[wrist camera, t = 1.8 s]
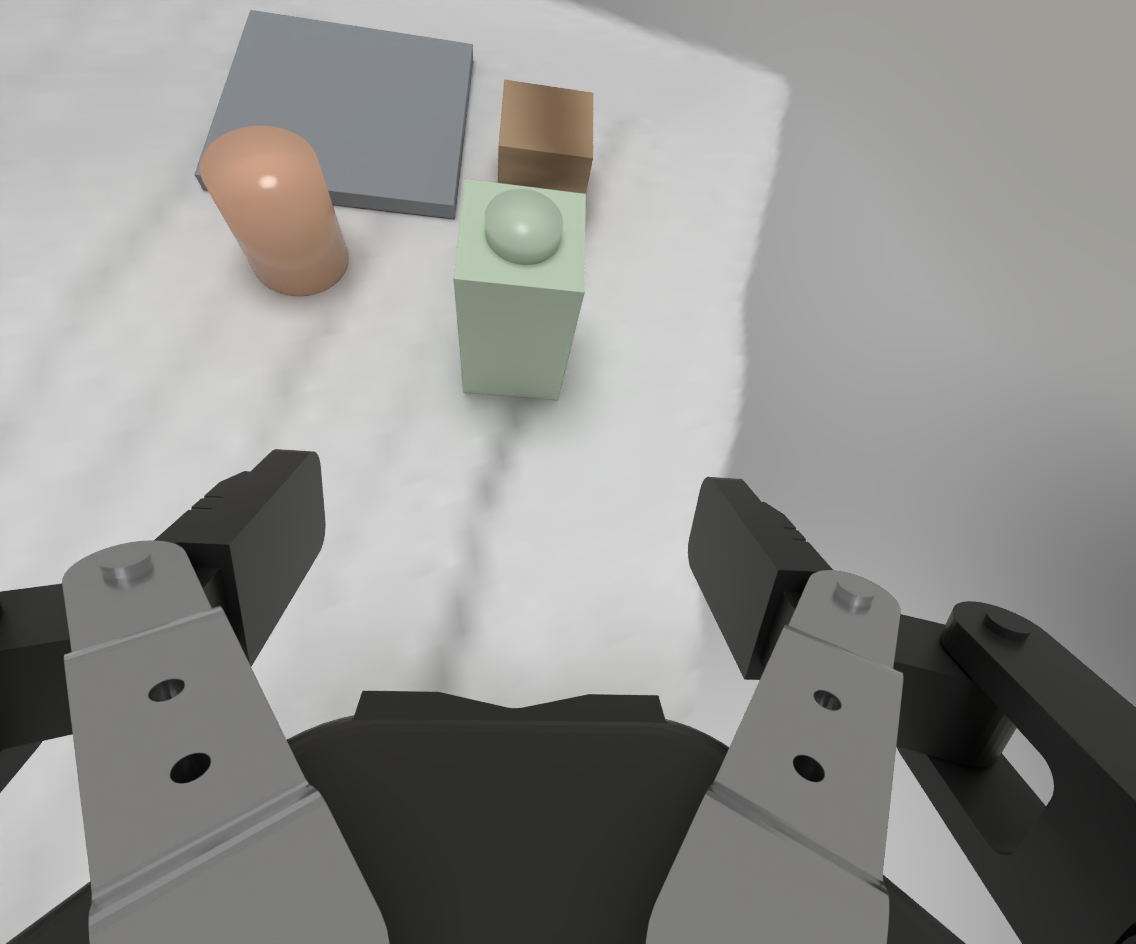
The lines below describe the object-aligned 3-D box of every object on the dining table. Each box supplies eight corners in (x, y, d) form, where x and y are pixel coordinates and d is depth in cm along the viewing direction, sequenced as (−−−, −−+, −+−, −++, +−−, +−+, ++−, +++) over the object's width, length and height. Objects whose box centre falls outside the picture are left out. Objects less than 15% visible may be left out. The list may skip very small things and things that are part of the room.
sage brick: (463, 392, 29) (452, 264, 20) (471, 313, 31) (463, 161, 22) (557, 400, 30) (588, 278, 21) (559, 321, 32) (588, 178, 23)
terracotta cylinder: (243, 291, 30) (187, 201, 24) (263, 218, 31) (214, 118, 26) (340, 300, 30) (307, 215, 25) (355, 228, 32) (327, 133, 26)
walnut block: (497, 219, 34) (498, 145, 29) (502, 157, 35) (504, 79, 31) (578, 228, 34) (592, 158, 30) (579, 168, 36) (593, 92, 31)
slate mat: (203, 189, 31) (194, 174, 31) (256, 26, 36) (250, 9, 35) (454, 218, 33) (453, 205, 32) (472, 59, 38) (472, 44, 37)
